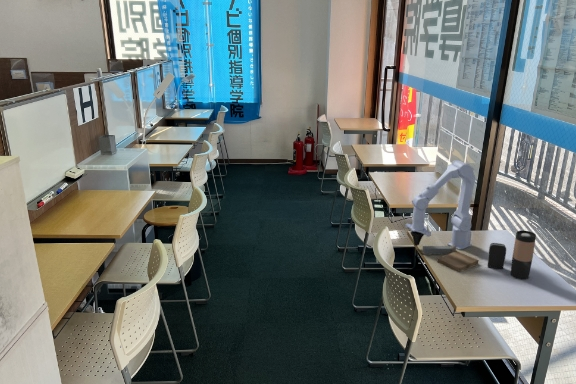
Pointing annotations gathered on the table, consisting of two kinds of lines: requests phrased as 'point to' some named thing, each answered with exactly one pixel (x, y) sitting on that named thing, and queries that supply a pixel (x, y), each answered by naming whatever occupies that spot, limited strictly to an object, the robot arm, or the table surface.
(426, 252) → the gray rectangular bar
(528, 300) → the table surface
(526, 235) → the travel mug
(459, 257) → the stool seat
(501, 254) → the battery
